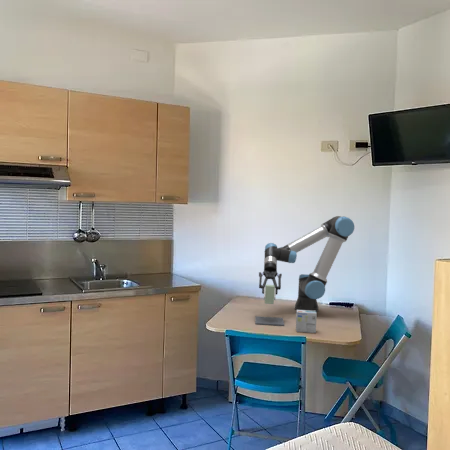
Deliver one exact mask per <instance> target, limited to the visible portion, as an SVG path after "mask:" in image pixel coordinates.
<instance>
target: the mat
mask: <svg viewBox="0 0 450 450" xmlns="http://www.w3.org/2000/svg"><path fill="white" fill-rule="evenodd" d="M254 322H255V325H256V326H257V325H259V326H274V327H275V326H276V327H285V321H284V317H275V316H262V315H261V316H260V315H258V316H257V315H256V316H255V321H254Z"/></svg>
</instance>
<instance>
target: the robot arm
mask: <svg viewBox="0 0 450 450" xmlns="http://www.w3.org/2000/svg"><path fill="white" fill-rule="evenodd" d="M354 231H355V223H354V222H353V219H352V218H350V217H347V216H341V215H340V216H339V215H337V216H333V217H332V218H330V219H328V220H326V221H325V222H323V223H322V224H321V225H320V226H319V227H317V228H315V229H313V230H311V231H310V232H308V233H306V234H304V235H302V236H301V237H299V238H297V239H295V240H292V241H291V242H289V243H288V244H286V245H284V246H281V247H278V246H277V244H275V243H274V242H270V243H269V242H268V243H267V244H266V245H265V247H264V261H263V263H264V265H263V272H261V271H260V272H258V277H259V282H258V288H259V289H261V294H262V295H263V300H265V291H266V285H267V283H268V281H269V280H271V281H272V282H273V285H274V286H275V290H274V301H276V295H278V291H279V290H281V288H282V287H281V286H282V281H281V279H282V273H278V269H277V268H278V261H279V262H283V263H288V264H295V263H296V261H297V254H298V253H299V252H301V251H303V250H304V249H306V248H308V247H310V246H313V245H314V244H316V243H318V242H320V241H321V240H323V239H325V238H328V240H327V241H326V244H325V246H324V248H323V250H322V253H321V255H320V257H319V258H318V261H317V264H316V265H315V267H314V268H313V269H314V270H313V271H312V272H310V273H309V274H299V276H298V288H297V289H298V290H297V291H298V293H297V300H295V301H296V302H295V304H294V309H295V310H296V311H297V310H311V311H316V313H317V312H319V304H318V300H319V299H320V298H322V297H323V296H324V295H325V293H326V285H327V283H328V280H327V279H328V278H327V277H328V276H329V273H330V271H331V268H332V266H333V264H334V263H335V260H336V257H337V256H338V254H339V252H340V250H341V247H342V245H343V244H344V243H345V242H347V240H348V238H349V236H351V235H352V234H353V233H354ZM263 276H264V277H265V278H264V281H263V278H262V277H263ZM276 277H277V278H278V279H277V280H278V283H277V280H276ZM262 281H263V283H262Z"/></svg>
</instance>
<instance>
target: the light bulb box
mask: <svg viewBox="0 0 450 450" xmlns="http://www.w3.org/2000/svg"><path fill="white" fill-rule="evenodd" d="M317 315H318V314H317V312H316V311H311V310H296V315H295V332H296V331H297V333H299V332H300V333H311V334H312V333H313V334H316V333H317Z"/></svg>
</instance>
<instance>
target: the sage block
mask: <svg viewBox="0 0 450 450" xmlns="http://www.w3.org/2000/svg"><path fill="white" fill-rule="evenodd" d="M265 287H266V291H265V299H264V304H265V305H267V304H268V305H274V304H275V303H274V302H275V300H274V290H275V286H274V284H266V285H265Z"/></svg>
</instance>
